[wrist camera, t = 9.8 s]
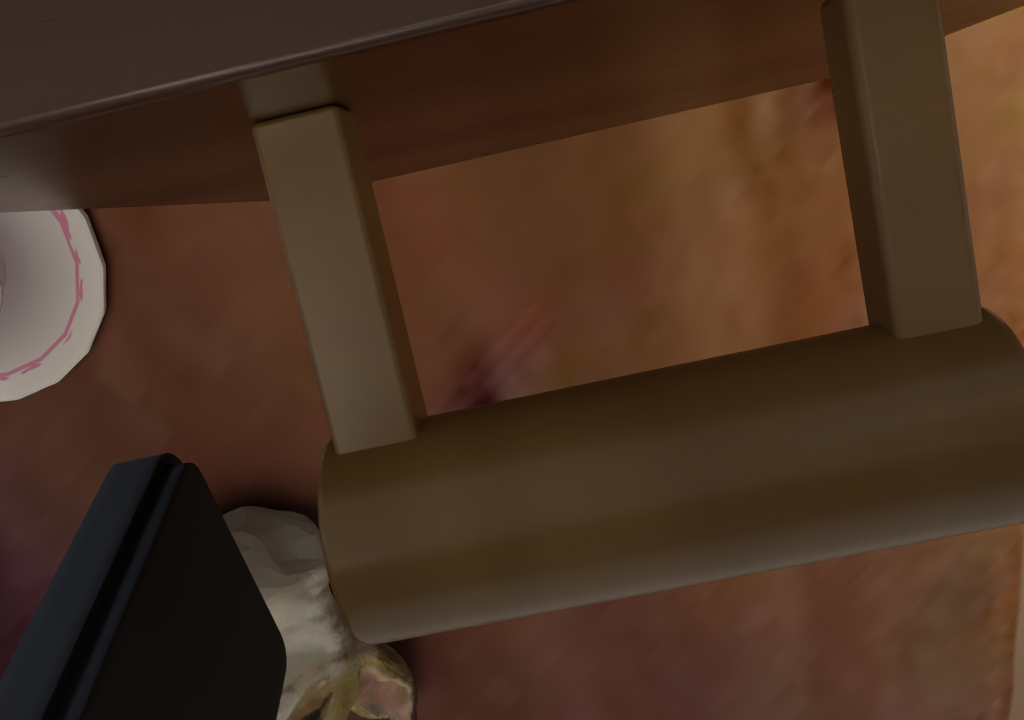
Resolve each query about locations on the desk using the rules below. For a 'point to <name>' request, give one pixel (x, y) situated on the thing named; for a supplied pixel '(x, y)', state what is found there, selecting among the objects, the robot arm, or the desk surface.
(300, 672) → the ceramic sculpture
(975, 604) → the desk surface
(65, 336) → the teacup
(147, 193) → the lid
